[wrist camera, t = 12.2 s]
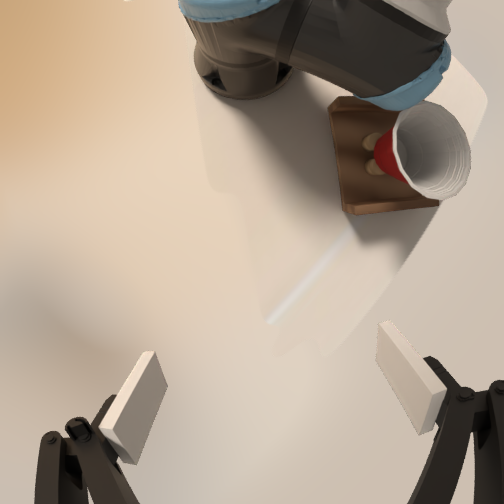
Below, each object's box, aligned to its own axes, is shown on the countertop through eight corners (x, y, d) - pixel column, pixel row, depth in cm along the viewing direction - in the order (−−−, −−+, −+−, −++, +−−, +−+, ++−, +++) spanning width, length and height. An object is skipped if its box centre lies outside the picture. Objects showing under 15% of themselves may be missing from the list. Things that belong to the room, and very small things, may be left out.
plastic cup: (399, 105, 33) (446, 87, 21) (431, 171, 35) (483, 175, 24) (341, 134, 34) (376, 120, 23) (377, 204, 37) (421, 218, 25)
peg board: (327, 107, 38) (338, 96, 32) (405, 107, 37) (424, 99, 31) (342, 210, 42) (355, 215, 36) (418, 202, 41) (439, 205, 35)
